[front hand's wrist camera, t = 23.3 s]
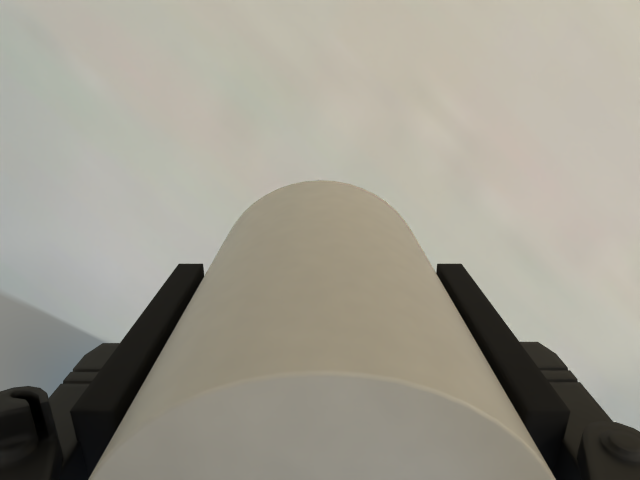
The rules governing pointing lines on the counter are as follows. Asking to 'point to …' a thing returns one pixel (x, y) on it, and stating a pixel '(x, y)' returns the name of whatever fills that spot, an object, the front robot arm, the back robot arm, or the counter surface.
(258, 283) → the canister
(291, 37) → the counter surface
